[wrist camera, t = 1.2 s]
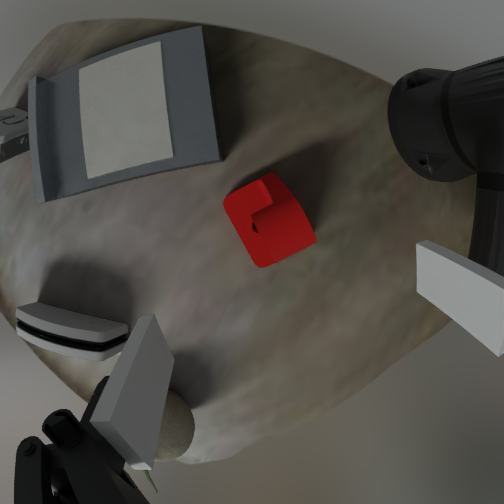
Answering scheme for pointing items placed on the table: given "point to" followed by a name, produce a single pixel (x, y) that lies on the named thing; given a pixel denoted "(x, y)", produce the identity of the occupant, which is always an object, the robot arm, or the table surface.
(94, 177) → the grey ridged box
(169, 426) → the fruit
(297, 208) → the bracket
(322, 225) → the table surface
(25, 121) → the electrical switch
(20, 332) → the grey curved slab
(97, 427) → the robot arm
